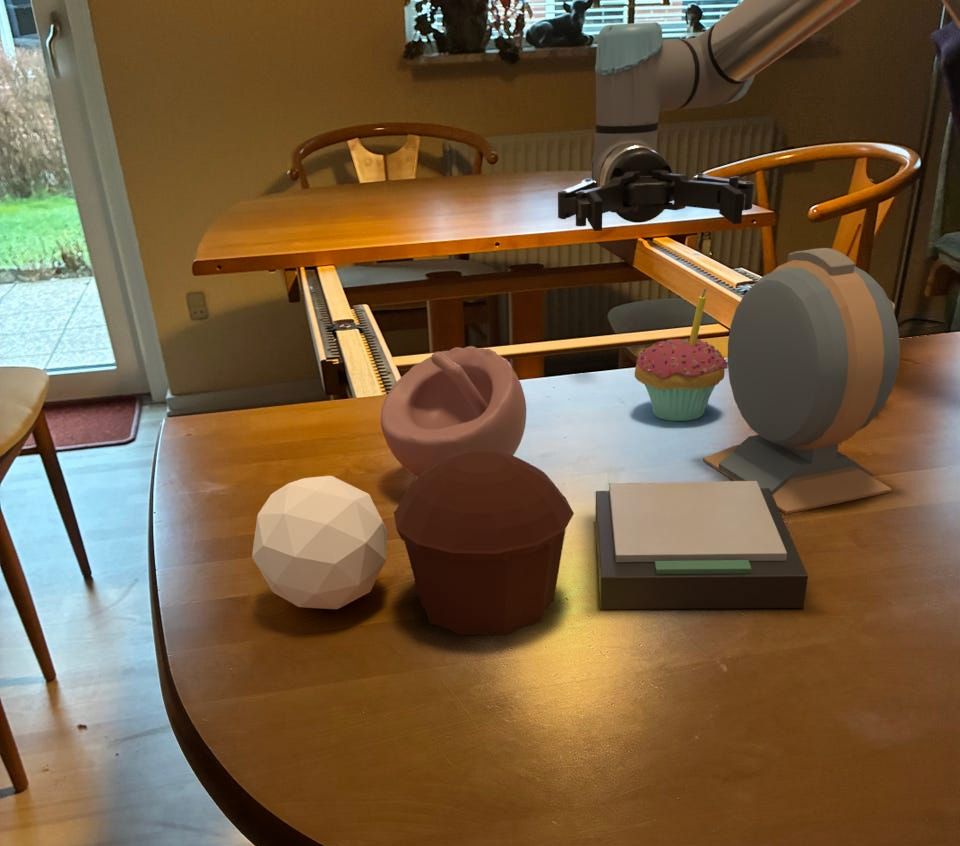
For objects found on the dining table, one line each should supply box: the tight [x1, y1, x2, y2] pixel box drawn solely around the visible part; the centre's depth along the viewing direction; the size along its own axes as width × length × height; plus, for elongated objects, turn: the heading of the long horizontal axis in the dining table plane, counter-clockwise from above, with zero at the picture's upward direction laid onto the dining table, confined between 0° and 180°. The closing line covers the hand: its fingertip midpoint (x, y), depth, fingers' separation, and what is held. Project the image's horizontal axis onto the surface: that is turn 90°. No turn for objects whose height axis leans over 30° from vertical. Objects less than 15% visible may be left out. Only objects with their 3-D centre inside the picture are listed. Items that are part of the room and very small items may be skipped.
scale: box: [594, 480, 809, 610], centre depth 69 cm, size 13×14×3 cm
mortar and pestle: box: [380, 345, 527, 478], centre depth 81 cm, size 12×12×12 cm
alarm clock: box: [702, 247, 901, 515], centre depth 77 cm, size 14×10×18 cm
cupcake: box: [634, 287, 728, 422], centre depth 92 cm, size 9×8×12 cm
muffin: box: [393, 450, 575, 637], centre depth 63 cm, size 12×11×10 cm
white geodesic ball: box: [251, 475, 388, 610], centre depth 66 cm, size 9×9×12 cm
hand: (668, 212), depth 95 cm, fingers open, 13 cm apart
